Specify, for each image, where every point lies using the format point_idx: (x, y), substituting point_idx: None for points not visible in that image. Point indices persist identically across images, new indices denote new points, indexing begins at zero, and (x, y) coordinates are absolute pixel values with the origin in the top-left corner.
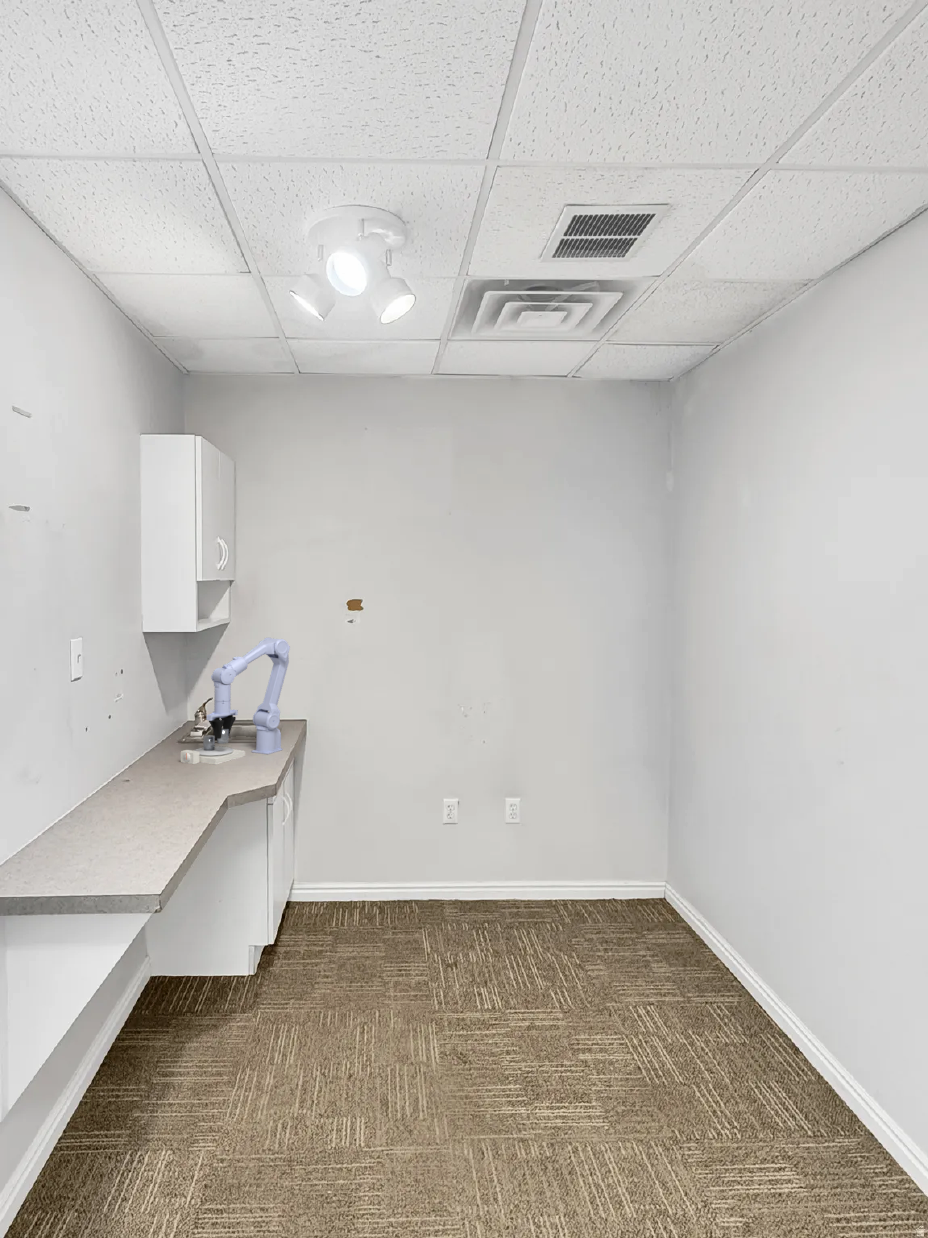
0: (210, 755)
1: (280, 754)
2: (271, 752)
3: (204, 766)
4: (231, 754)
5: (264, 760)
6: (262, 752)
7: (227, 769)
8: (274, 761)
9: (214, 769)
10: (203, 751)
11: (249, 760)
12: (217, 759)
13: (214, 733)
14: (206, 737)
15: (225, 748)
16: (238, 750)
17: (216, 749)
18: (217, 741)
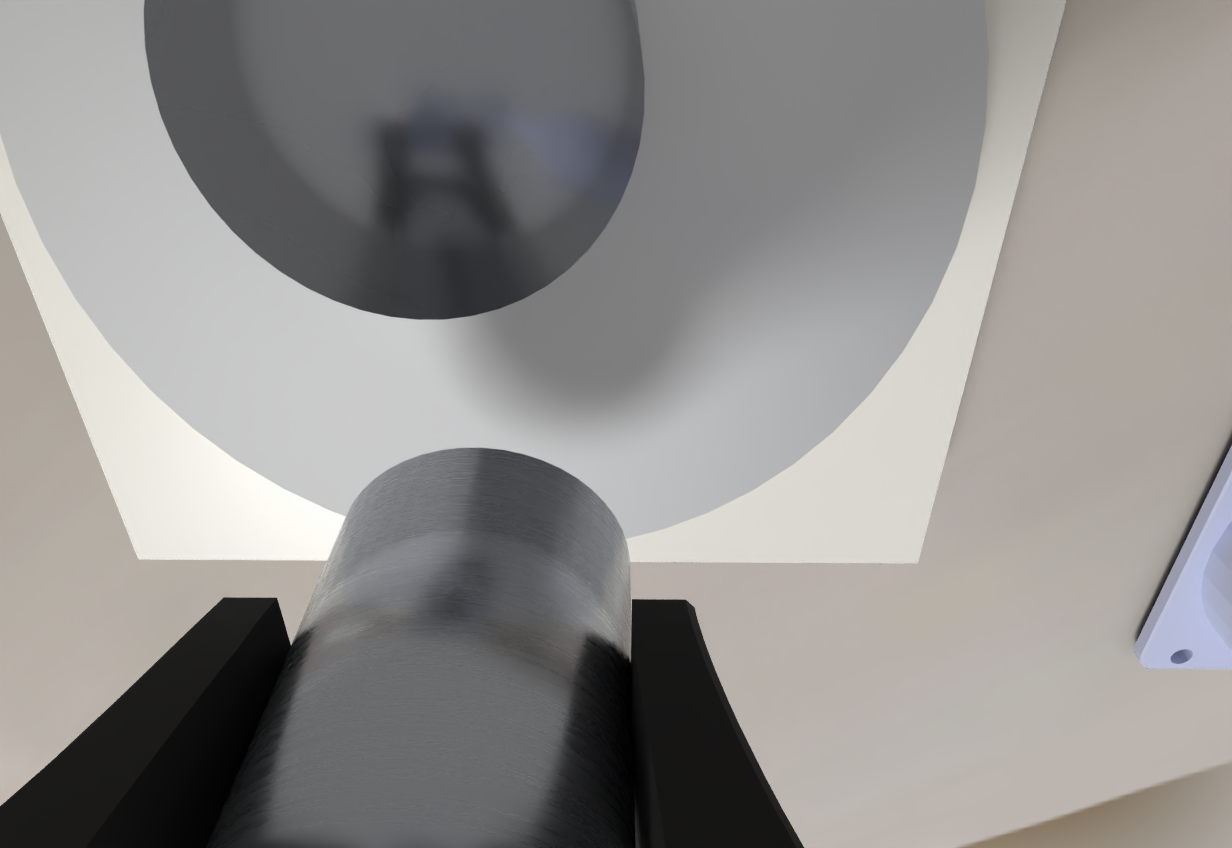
0: (177, 393)
1: (1199, 736)
2: (1224, 667)
3: (10, 412)
4: None
5: (801, 763)
6: (1174, 600)
7: None
8: (805, 843)
9: (39, 614)
10: None
11: (714, 652)
12: (198, 548)
13: (114, 724)
14: (183, 153)
15: (807, 281)
16: (914, 459)
17: None
18: (336, 542)
